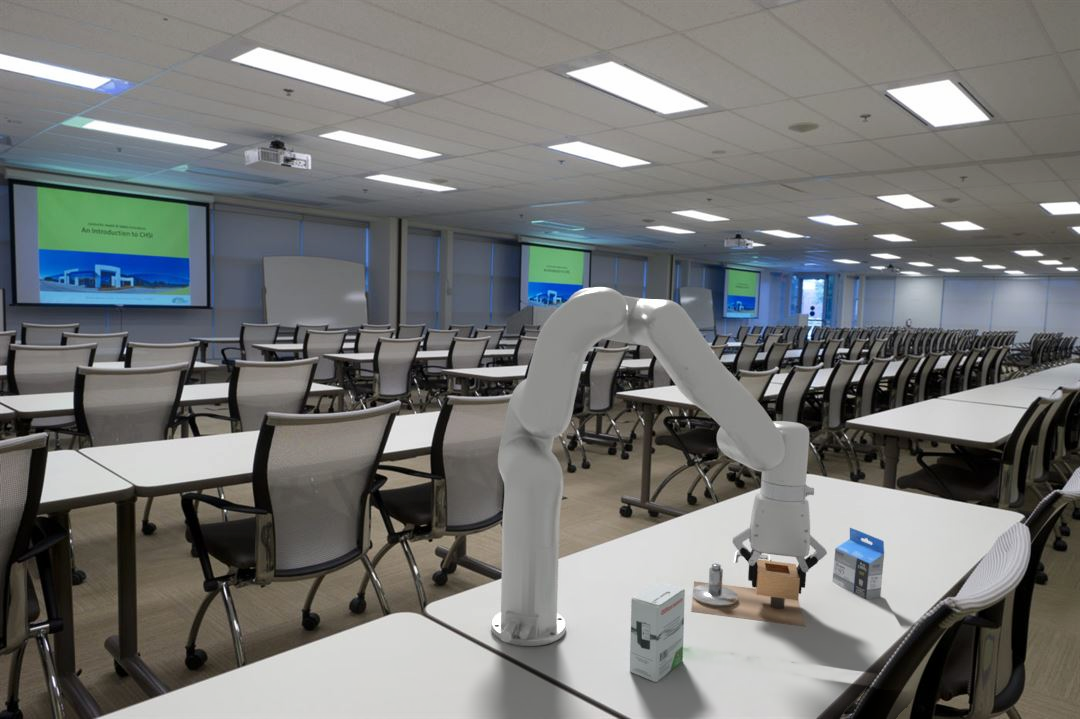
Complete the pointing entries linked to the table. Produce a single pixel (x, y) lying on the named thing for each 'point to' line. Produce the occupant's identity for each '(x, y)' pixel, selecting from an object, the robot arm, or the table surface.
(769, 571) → the wooden square washer
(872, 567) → the label tape box
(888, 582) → the table surface
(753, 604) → the walnut board
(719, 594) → the steel hub
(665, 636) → the ink box
